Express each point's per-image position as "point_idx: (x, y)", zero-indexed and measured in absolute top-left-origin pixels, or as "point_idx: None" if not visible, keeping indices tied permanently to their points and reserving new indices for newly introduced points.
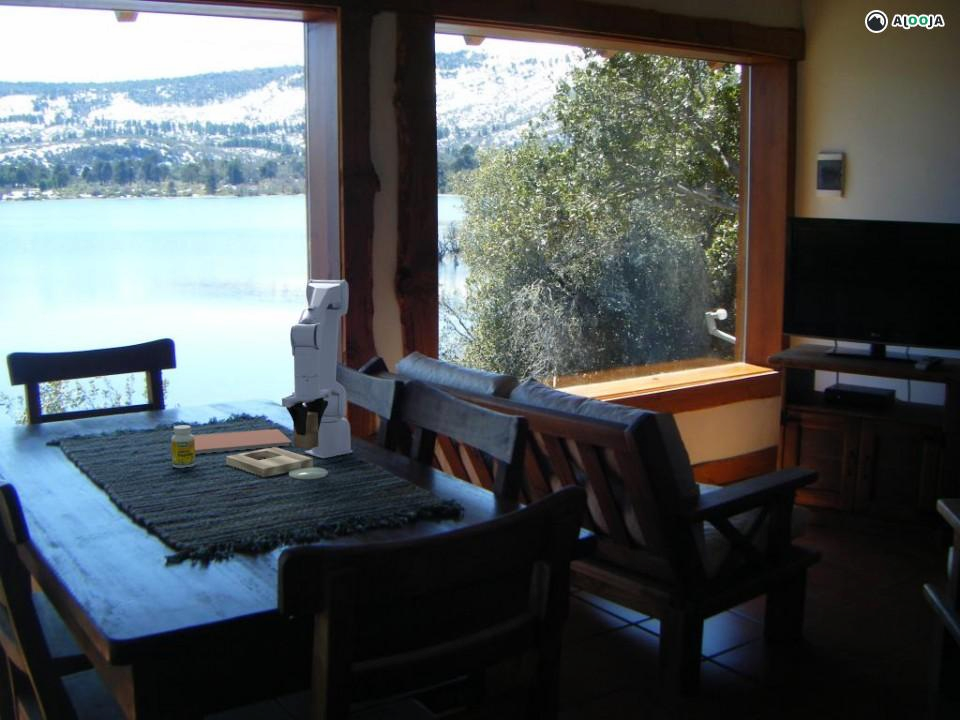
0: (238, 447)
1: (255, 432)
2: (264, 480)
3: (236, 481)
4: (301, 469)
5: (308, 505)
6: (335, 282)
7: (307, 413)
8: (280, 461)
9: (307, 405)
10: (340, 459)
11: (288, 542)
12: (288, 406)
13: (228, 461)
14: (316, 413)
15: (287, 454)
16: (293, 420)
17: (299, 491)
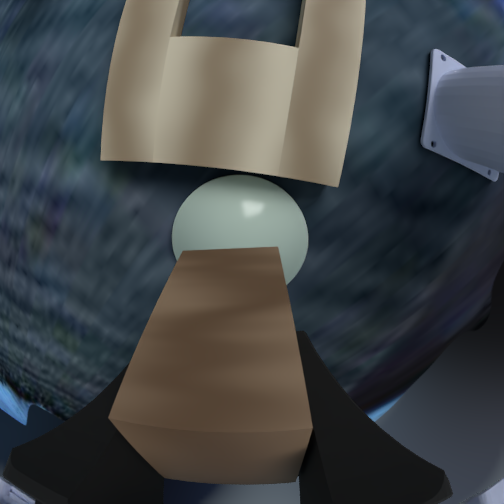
0: None
1: None
2: (98, 187)
3: (47, 139)
4: (251, 197)
5: (98, 381)
6: None
7: (162, 497)
8: (215, 113)
9: (324, 497)
10: (439, 193)
11: (46, 407)
12: (18, 492)
13: None
14: (280, 480)
15: (323, 54)
16: (102, 399)
17: (119, 330)
